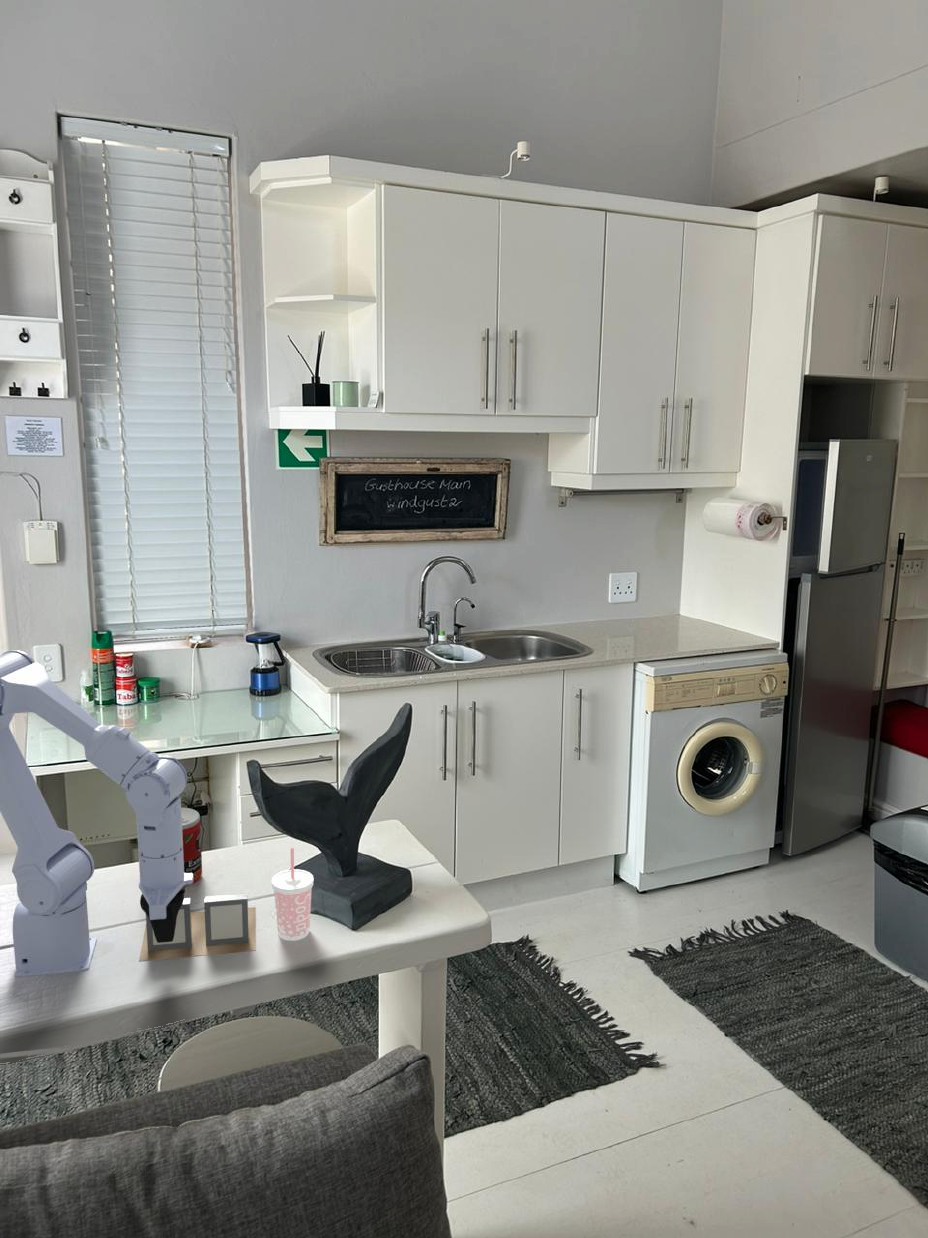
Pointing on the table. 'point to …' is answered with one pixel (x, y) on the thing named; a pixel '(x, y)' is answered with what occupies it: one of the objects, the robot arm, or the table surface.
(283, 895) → the beverage cup
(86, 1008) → the table surface
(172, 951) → the cork mat
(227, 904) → the gray framed tile
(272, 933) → the table surface
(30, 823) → the robot arm
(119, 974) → the table surface
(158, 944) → the grey framed square tile
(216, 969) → the table surface
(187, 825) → the canned food
